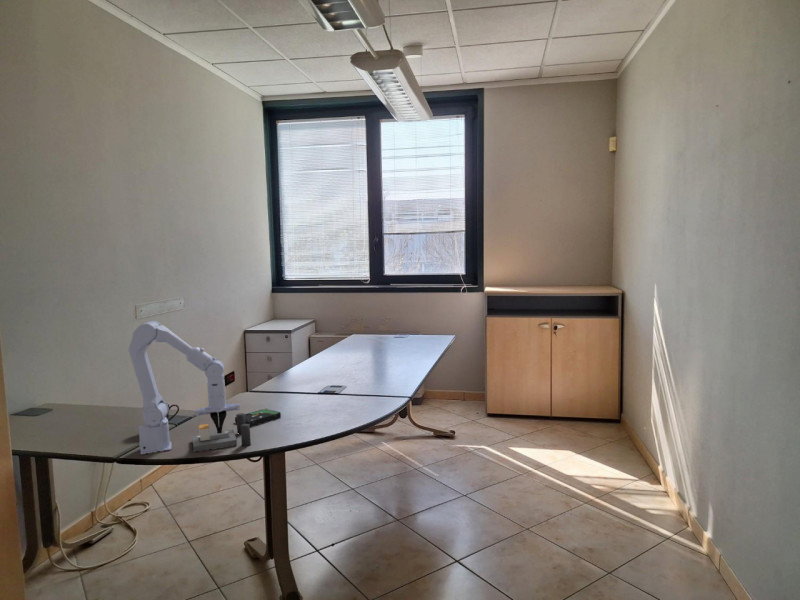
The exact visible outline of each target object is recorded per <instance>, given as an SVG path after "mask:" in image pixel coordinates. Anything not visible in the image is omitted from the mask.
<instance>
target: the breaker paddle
mask: <svg viewBox="0 0 800 600" xmlns="http://www.w3.org/2000/svg"><path fill="white" fill-rule="evenodd" d="M198 429H199V435H200V441H204V440H210V436H209V433H210V426H209V424H208V423H206V424H199V425H198Z"/></svg>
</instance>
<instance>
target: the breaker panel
mask: <svg viewBox="0 0 800 600" xmlns="http://www.w3.org/2000/svg"><path fill="white" fill-rule="evenodd" d="M209 436H210V440H204V441H200V434H195V435H192V436H191V437H192V446H193V447H192V448H193V452H194V451H200V452H203V451H202V450H206V451H210V450H209V449H212V450H216V449H215V448H219V449H222V448H221V447H225V448H228V447H227V446H231V447H233V446H232V445H237V446H238V439H237V437H236V433H235V431H234V429H229V430H228V429H227V430H222V433H219V434H218V433H217V431H216V432H209Z"/></svg>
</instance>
